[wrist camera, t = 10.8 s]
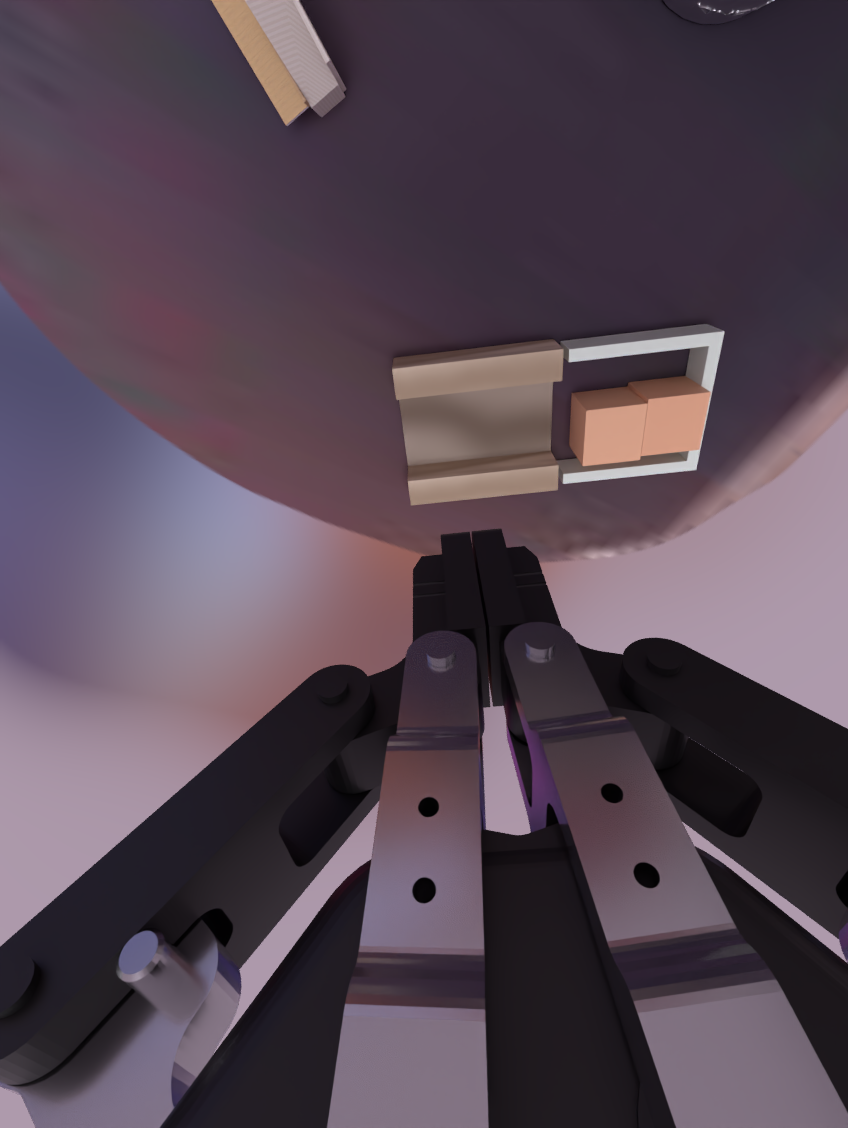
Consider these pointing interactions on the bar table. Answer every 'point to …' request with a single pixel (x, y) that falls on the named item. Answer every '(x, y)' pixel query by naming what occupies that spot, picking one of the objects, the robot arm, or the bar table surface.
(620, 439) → the pink cube
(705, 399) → the salmon cube
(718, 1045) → the robot arm
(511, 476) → the slot track
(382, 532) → the bar table surface
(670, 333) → the grey u-shaped frame
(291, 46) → the architectural model
